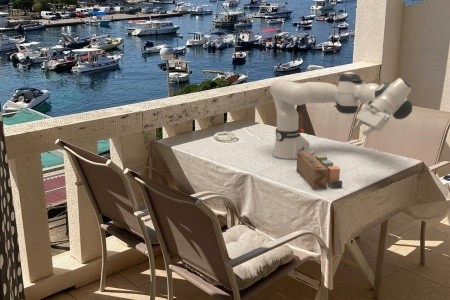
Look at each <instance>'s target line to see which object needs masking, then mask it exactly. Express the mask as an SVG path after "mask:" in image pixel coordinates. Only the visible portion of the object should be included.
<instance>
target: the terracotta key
mask: <svg viewBox="0 0 450 300" xmlns="http://www.w3.org/2000/svg"><path fill="white" fill-rule="evenodd" d="M327 169H328V170H327V185H329V186H330V181H340V175H341V168H340V167H338V166H337V165H333V166H328V167H327Z"/></svg>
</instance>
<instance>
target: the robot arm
mask: <svg viewBox="0 0 450 300" xmlns="http://www.w3.org/2000/svg"><path fill="white" fill-rule="evenodd" d="M338 77H339V78H338V81H339V82H338V85H336V84H334V83H330V82H323V81H322V82H321V81H307V82H295V81H291V80H287V79H284V78H283V79H282V78H281V79H276V80H275V79H274V81H273V82H271V84H270V87H269V92H270V95H271V96H272V98H273V101H274V102H273V103H274V105H275V110H276V112H275V113H276V129H275V140H274V141H275V142H274V148H273V152H272V155H273V156H274V157H276V158H279V159H286V160H289V159H290V160H297V153H300V152H310V153H311V154H312V155H313V154H315V151H314V150H313V149H311V148H310V142H309V141H308V140H307V139H306V138H305V137H303V136H302V135H301V134H305V129H304V128H303V129H302V128H299V117H300V116H299V113H298V111H297V108H296V106H302V105H305V104H329V103H334V104H335V105H333V106H334V108H336V110H337V111H338V112H339V113H340V114H342V115H346V116H351V115H354V114H356V113H357V112H358V110H359V102H361V103H362V104H364V105H365V106H364V107H362V109H360V110H359V112H358V113H357V114H356V116H355V119H356V120H357V122H356V123H355V126H354V127H353V129H354V131H356V132H358V131H359V130H360V127H361V126H362V125H364V126H366V127H368V128H367V129H366V130H365V129H364V130H363V132H362V135H363V136H365V137H367V136H368V135H370V134H371V133H373V132H374V131H377V132H380V131H382V130H383V129H384V128H385V127H386V125H387V124H388V123H389V121H390V118H391V115H392V117H393V118H394V119H395V120H404V119H406V118H407V117H409V116H410V114H411V113H412V112H413V103H412V101H410V100H409V99H408V96H409V95H410V93H411V91H412V86H411V85H410V84H409V83H408V82H407V81H406V80H405V79H403V78H401V77H398V78H397V79H395V80H394V81H393V82H382V83H381V84H377V83H375V82H374V83H373V82H372V83H371V82H370V83H366V84H363V82H364V80H363V79H362V78H361V76H359V74H357V73H355V72H351V71H346V72H344V73H341V74H340V75H339V76H338Z"/></svg>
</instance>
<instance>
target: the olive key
mask: <svg viewBox="0 0 450 300" xmlns="http://www.w3.org/2000/svg"><path fill="white" fill-rule="evenodd" d="M314 157H315V158H316V159H317V160H318V161H319V162H320V163H321V161H326V160H328V157H327V156H326V155H325V154H317V155H315V156H314Z"/></svg>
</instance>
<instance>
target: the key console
mask: <svg viewBox="0 0 450 300" xmlns="http://www.w3.org/2000/svg"><path fill="white" fill-rule="evenodd" d="M327 170H328V169H327V168H326V167H325V166H323V165H322V164H321V163H320V162H319V161H318V160H317V159H316V158H315V156H314V155H313V154H311V153H310V152H300V153H297V159H296V170H295V171H296V172H297V173H298V174H299V175H300V176H301V177H302V178H303V179H304V181H306V183H307V185H309V186H310V188H312V189H313V190H326V189H327V187H328V186H327V185H328V183H327ZM342 187H343V180H340V179H339V181H330V185H329V189H342Z"/></svg>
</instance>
